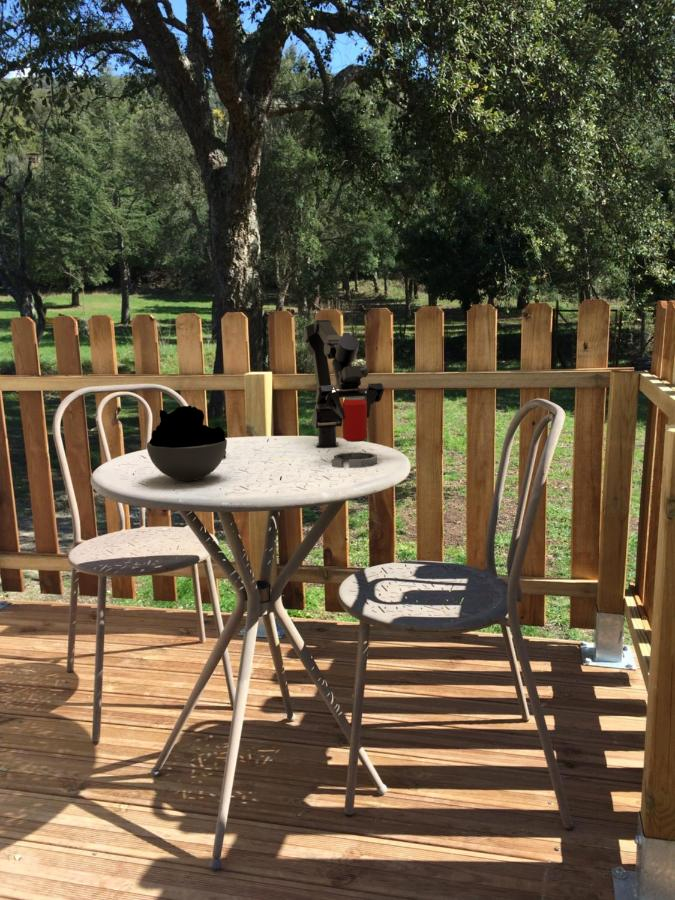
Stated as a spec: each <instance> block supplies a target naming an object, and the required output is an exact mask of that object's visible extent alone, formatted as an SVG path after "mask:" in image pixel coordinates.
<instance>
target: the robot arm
mask: <svg viewBox="0 0 675 900" xmlns="http://www.w3.org/2000/svg"><path fill="white" fill-rule="evenodd" d="M302 339H303V342H304V343H305V347H306V350H307V351H308V353H309V354H310V355H311V357H312V360H313V366H314V368H313V369H314V374H315V381H316V388H317V390H316V393H315V402H316V403H315V405H314V410H313V414H312V418H311V419H312V420H311V423H312V425H311V426H312V427H313V428H314V429H317V434H318V435H317V436H318V437H317V439H318V440H317V441H318V442H317V444H316V448H331V447H333V448H335V447H336V448H337V447H338V445H339V442H337V427H343V419H344V418H345V416H344V411H343V408H342V403H341V401H340V398H342V399H343V398H344V399H345V397H351V396H361V397H364V399H365V401H366V403H367V419H368V418H370V415H371V414H370V413H371V405H373V404H374V403H379V402H380V401H382V398H383V395H384V391H385V387H384V384H383V383H382V382H368V383H367V388H360V387H361V385H362V381H361V379H362V378H366V377H368V375H369V369H368V366H367V364H360V365H353V362H355V360H356V357H357V354H358V350H359V347H360V341H359V340H358V338H357V337H355V336H353V335H351V334H350V332H343V333H342V335H339V333H338V332H337V331H336V329H335V327H334V326H333V323H332V320H331V319H325V318H324V319H316V320H314V321H313V323H311V324H310V325H308V326H306V327H305V329H304V331H303V337H302ZM329 360H332V361H331V367H332V372H333V374H334V378H335V387H337V388H335V387H333V384H332V381H331V380H332V379H331V374H330V367H329V362H328V361H329Z"/></svg>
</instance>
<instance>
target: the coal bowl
mask: <svg viewBox="0 0 675 900" xmlns="http://www.w3.org/2000/svg"><path fill="white" fill-rule="evenodd" d="M159 418H160V422H159V423H158V425H157V426H156V427H155V429H154V430H152V432H151V438H150V440H149V441H148V442H147V443H146V450H147V453H148V456H149V459H150V460H151V462H152V464H153V465H154V467H155V468H157V470H159V472H161V473H162V474H163V475H165V476H167V477H169V478H171V479H174V480H176V481H183V482H189V481H191V482H192V481H197V480H201V479H202V478H203V479H204V478H205V477H206V476H208V475H210V474H212V472H214V471H215V470H216V469H217V468H218V467H219V466H220V464H221V462H222V461H223V459H224V458H223V457H224V454H225V451H226V452H227V446H228V441H227V438H226V435H225V431H224V429H222V427H220V426H216V427H210V426H209V425H207V424H204V421H205V414H204V411H203V410H202V409H200V408H198V407H196V406H192V405H182V406H178V407H177V408H175V409H174V410H172V411H171V412H169V413H168V412H167V411H166V410H162V409H159Z"/></svg>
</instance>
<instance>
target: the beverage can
mask: <svg viewBox="0 0 675 900" xmlns="http://www.w3.org/2000/svg"><path fill="white" fill-rule="evenodd" d="M341 406H342V408H343V411H344V416H345V418H344V419H342V438H343V440H345V441H346V442H348V443H349V442H350V443H359V442H364V441H365V440H367V438H368V418H367V403H366V401H365V399H364V397H361V396H351V397H345V398H344V399H343V401H342V403H341Z"/></svg>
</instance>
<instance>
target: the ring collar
mask: <svg viewBox="0 0 675 900" xmlns="http://www.w3.org/2000/svg"><path fill="white" fill-rule="evenodd" d="M347 461H348V465H349V466H348V467H349V468H366V467H367V468H368V467H372V466H376V465H378V454H376V453H372V452H364V451H363V452H362V451H358V452H357V451H355V452H344V453H343V452H342V453H341V452H340V453H338V454H335V455H334V456H333V458H331V467H334V468H341V469H342V468H344V465H345V464H344V462H347Z"/></svg>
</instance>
